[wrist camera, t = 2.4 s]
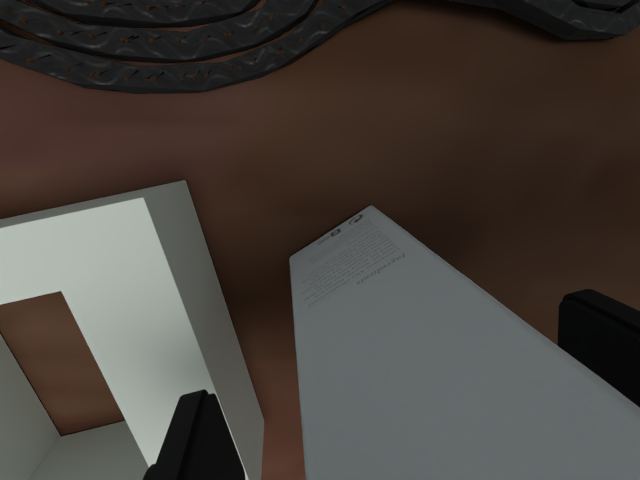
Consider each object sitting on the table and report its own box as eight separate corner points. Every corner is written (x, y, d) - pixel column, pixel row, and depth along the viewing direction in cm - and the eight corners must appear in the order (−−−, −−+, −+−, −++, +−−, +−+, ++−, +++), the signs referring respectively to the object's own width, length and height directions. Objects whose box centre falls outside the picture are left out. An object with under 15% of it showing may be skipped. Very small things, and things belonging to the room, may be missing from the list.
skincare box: (284, 257, 14) (302, 811, 2) (370, 201, 14) (851, 529, 2) (356, 355, 16) (560, 932, 4) (433, 308, 15) (870, 789, 4)
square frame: (185, 179, 12) (143, 197, 9) (264, 420, 16) (259, 507, 12) (-146, 250, 12) (-347, 302, 8) (15, 484, 16) (-71, 595, 12)
